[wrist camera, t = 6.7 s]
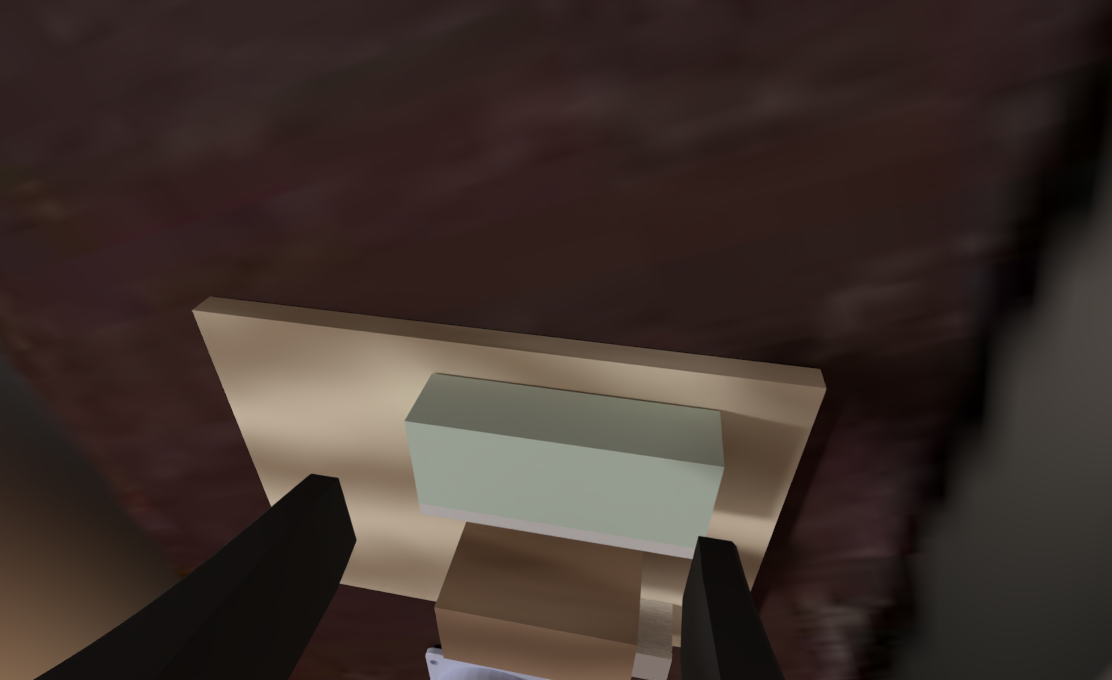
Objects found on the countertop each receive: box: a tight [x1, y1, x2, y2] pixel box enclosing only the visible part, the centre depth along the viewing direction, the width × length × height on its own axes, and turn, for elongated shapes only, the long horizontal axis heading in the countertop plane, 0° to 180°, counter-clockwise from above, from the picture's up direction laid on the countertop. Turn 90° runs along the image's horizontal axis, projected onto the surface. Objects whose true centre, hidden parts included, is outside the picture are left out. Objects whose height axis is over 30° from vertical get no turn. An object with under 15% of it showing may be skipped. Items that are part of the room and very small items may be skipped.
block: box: [434, 522, 643, 680], centre depth 22 cm, size 4×7×5 cm, turn 89°
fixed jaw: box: [632, 598, 673, 680], centre depth 26 cm, size 2×10×2 cm, turn 89°
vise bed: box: [192, 296, 827, 647], centre depth 25 cm, size 16×22×1 cm
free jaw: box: [404, 373, 724, 559], centre depth 20 cm, size 5×10×2 cm, turn 89°
